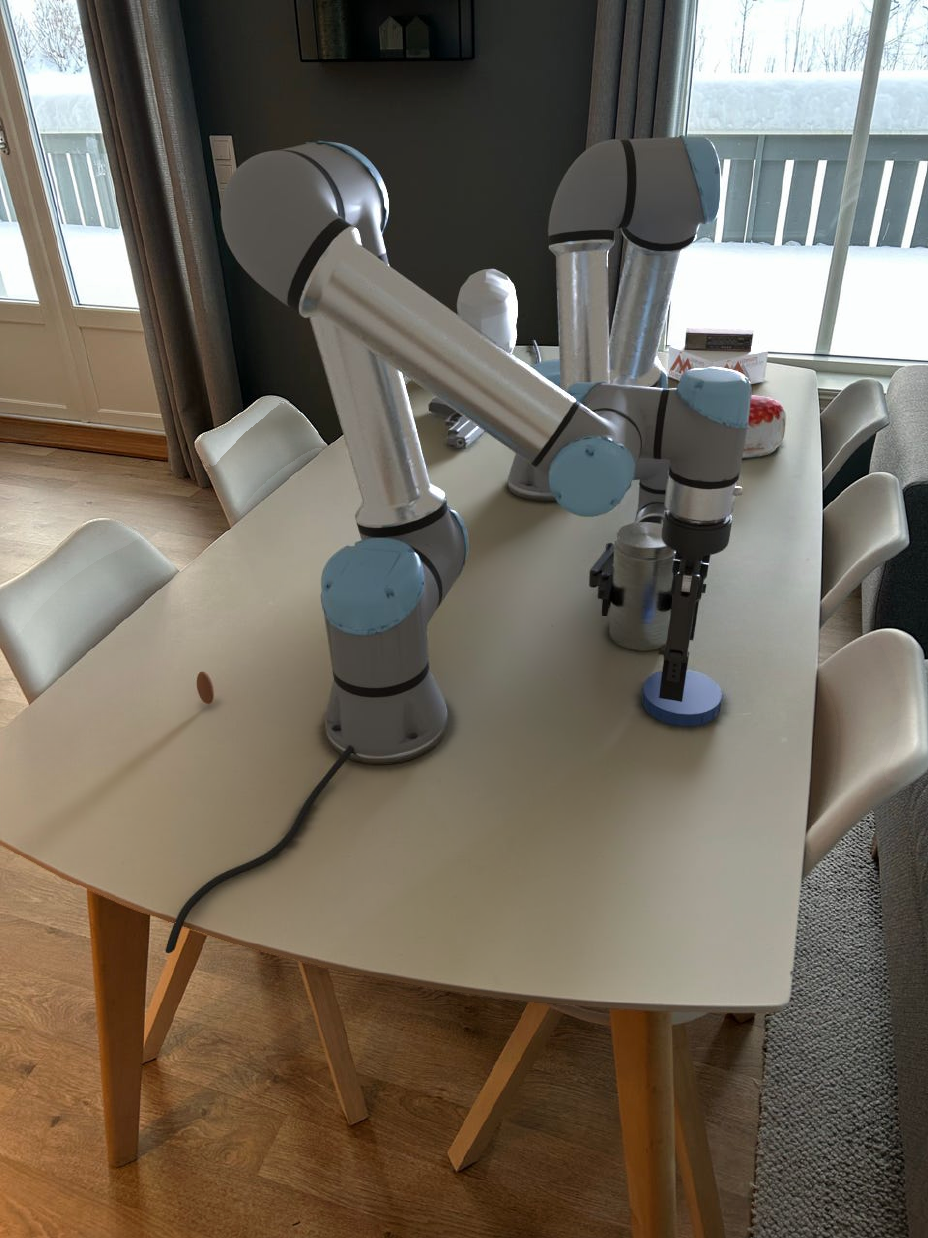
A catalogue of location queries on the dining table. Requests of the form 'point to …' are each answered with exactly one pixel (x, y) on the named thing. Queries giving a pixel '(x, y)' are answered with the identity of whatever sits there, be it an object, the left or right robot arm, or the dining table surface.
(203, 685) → the brown oval piece
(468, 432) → the pistol
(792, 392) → the dining table surface
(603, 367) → the right robot arm
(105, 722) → the dining table surface
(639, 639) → the jar
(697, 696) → the lid
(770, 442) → the cake
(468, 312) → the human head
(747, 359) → the white cardboard box
